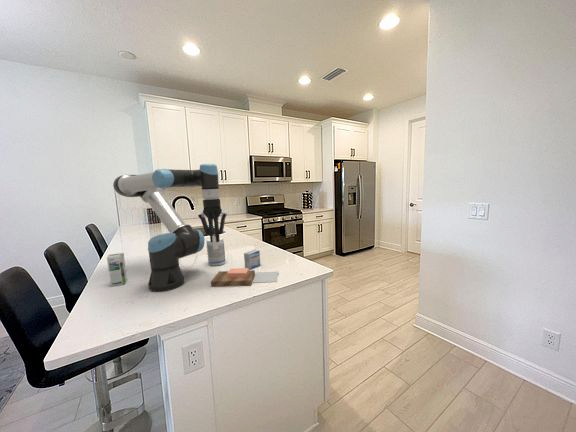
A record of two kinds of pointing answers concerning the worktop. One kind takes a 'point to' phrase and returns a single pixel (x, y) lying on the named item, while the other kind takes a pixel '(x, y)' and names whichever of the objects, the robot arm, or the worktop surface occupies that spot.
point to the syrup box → (117, 269)
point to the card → (238, 272)
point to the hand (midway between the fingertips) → (215, 248)
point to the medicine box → (252, 259)
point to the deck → (232, 279)
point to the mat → (265, 277)
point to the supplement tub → (216, 253)
